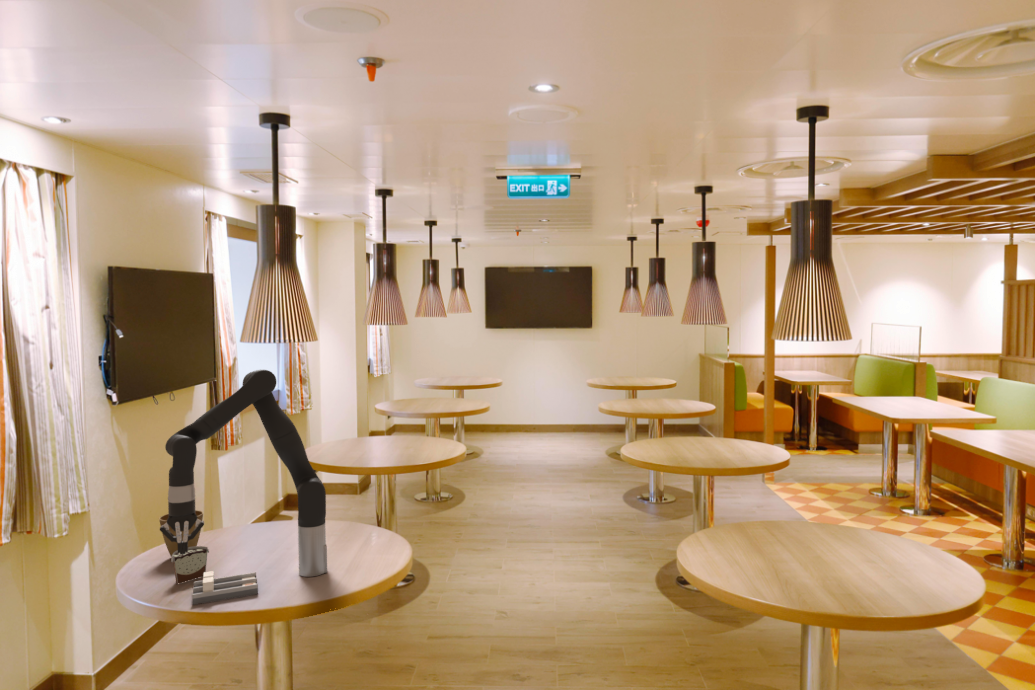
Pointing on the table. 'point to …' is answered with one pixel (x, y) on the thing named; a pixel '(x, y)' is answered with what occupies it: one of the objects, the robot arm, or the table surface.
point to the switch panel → (226, 588)
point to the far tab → (208, 574)
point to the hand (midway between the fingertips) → (182, 553)
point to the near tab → (208, 584)
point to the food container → (190, 563)
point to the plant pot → (191, 543)
